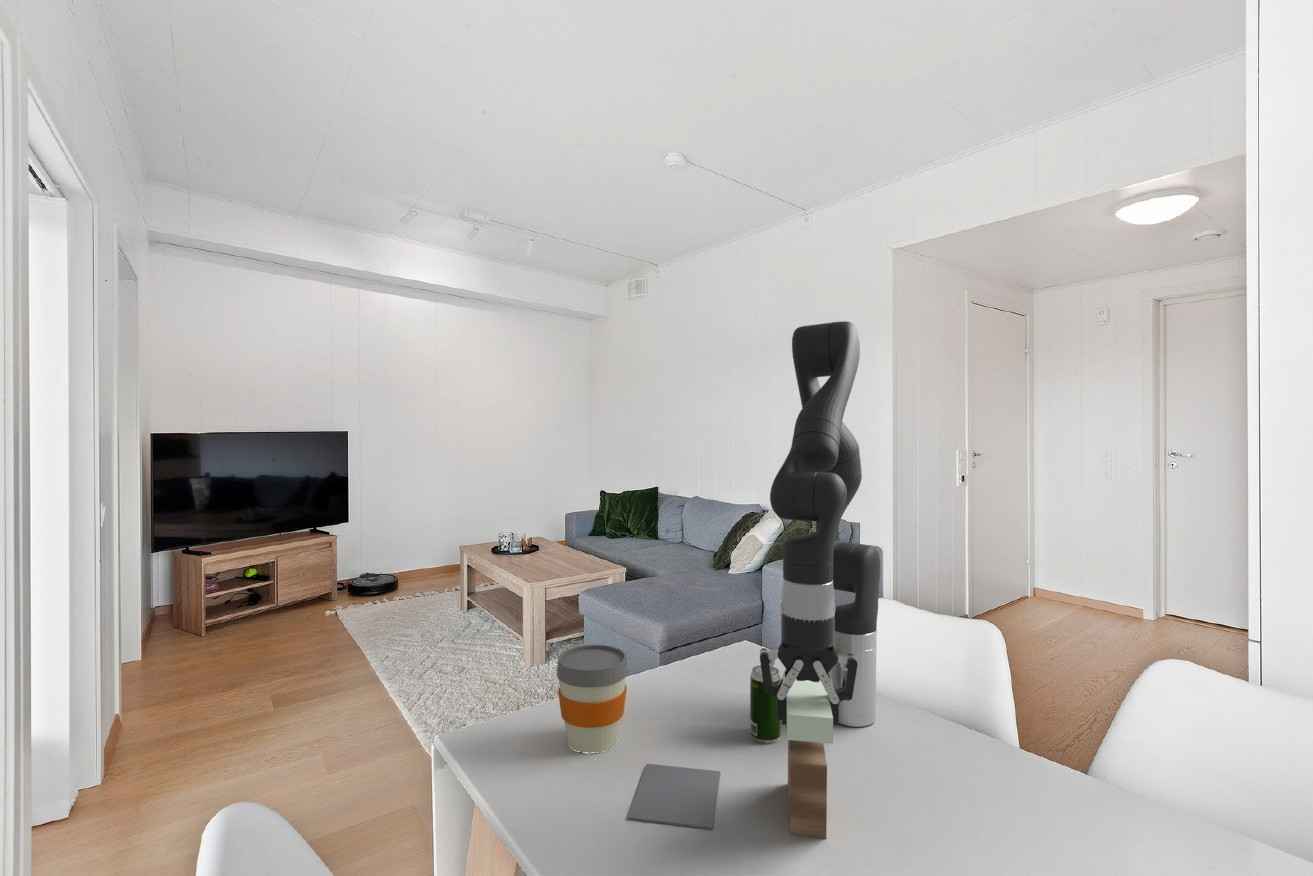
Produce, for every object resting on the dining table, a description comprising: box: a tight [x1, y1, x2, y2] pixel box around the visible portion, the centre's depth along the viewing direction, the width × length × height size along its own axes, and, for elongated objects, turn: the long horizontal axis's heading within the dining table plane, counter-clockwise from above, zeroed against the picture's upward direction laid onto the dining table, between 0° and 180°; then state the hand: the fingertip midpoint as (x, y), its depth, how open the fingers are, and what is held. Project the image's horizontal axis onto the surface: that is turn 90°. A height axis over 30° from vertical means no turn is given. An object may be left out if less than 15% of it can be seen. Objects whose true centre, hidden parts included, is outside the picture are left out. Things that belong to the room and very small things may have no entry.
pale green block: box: [786, 679, 834, 744], centre depth 90 cm, size 12×6×4 cm, turn 170°
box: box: [787, 739, 828, 839], centre depth 90 cm, size 12×5×10 cm, turn 170°
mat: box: [627, 763, 721, 830], centre depth 94 cm, size 14×12×1 cm
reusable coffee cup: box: [556, 644, 629, 753], centre depth 109 cm, size 13×13×15 cm
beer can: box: [749, 664, 782, 745], centre depth 111 cm, size 5×5×12 cm
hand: (807, 723), depth 90 cm, fingers closed on pale green block, 6 cm apart
